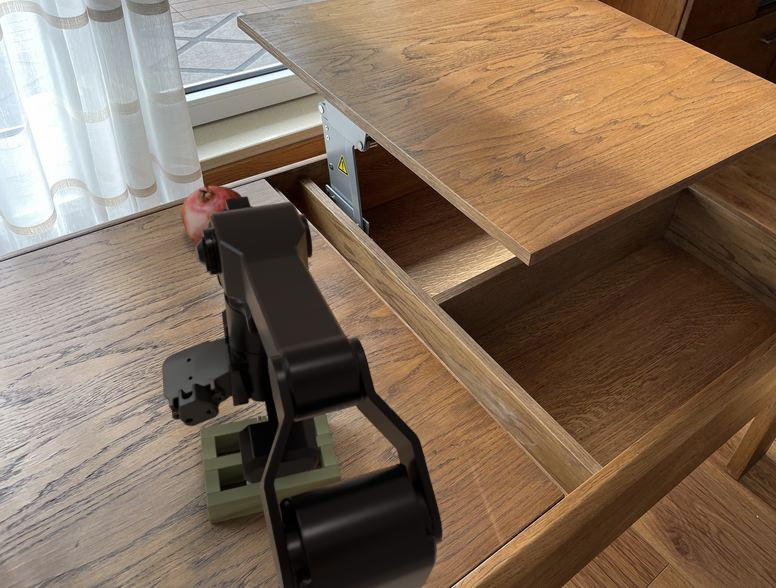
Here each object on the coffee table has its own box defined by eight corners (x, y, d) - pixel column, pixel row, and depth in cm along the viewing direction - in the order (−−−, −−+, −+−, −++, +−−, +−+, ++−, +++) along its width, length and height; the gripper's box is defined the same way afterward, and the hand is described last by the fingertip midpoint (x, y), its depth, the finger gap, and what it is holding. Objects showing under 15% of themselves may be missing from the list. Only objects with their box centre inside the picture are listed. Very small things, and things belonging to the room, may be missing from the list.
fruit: (247, 214, 110) (243, 161, 104) (251, 256, 103) (247, 201, 97) (184, 218, 107) (176, 164, 101) (183, 261, 101) (174, 205, 94)
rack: (340, 492, 78) (341, 475, 75) (210, 524, 73) (207, 507, 71) (323, 421, 84) (323, 403, 82) (202, 446, 79) (199, 428, 77)
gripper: (157, 267, 65) (178, 376, 75) (166, 441, 52) (190, 544, 62) (283, 252, 68) (286, 357, 78) (320, 410, 55) (319, 512, 66)
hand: (270, 434), depth 71 cm, fingers open, 9 cm apart
